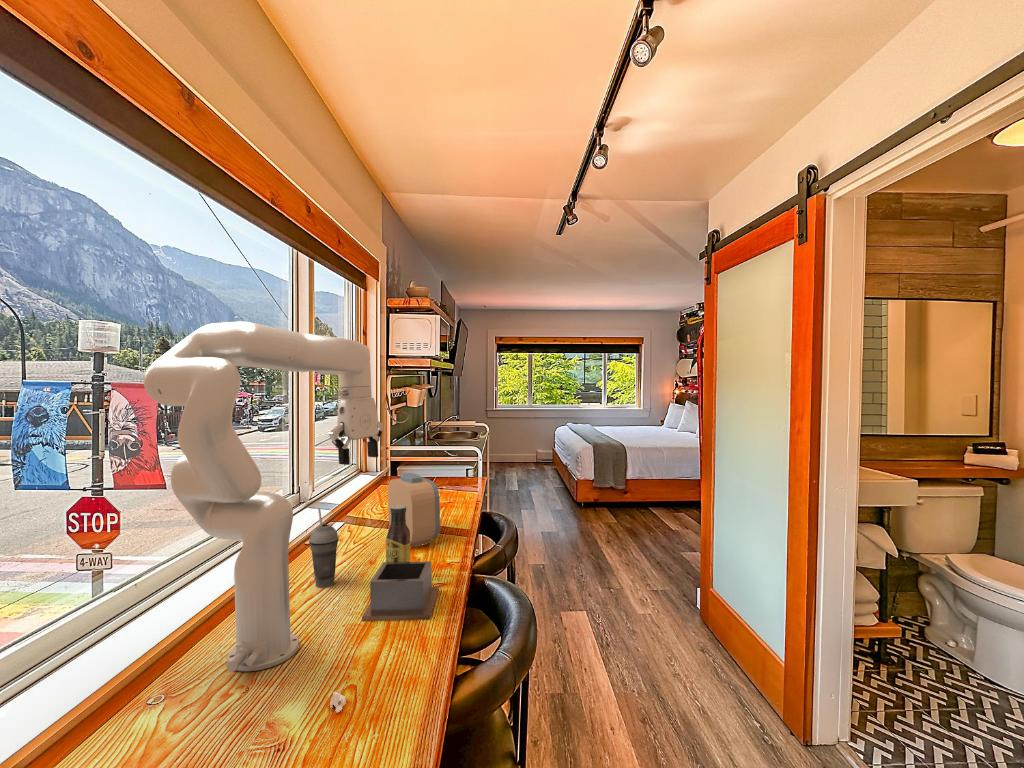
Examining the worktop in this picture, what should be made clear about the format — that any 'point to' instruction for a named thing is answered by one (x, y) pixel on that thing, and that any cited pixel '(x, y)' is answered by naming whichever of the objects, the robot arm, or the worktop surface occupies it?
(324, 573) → the beverage cup
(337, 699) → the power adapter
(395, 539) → the sauce bottle
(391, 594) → the grey square open box
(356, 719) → the worktop surface
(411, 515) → the alarm clock
